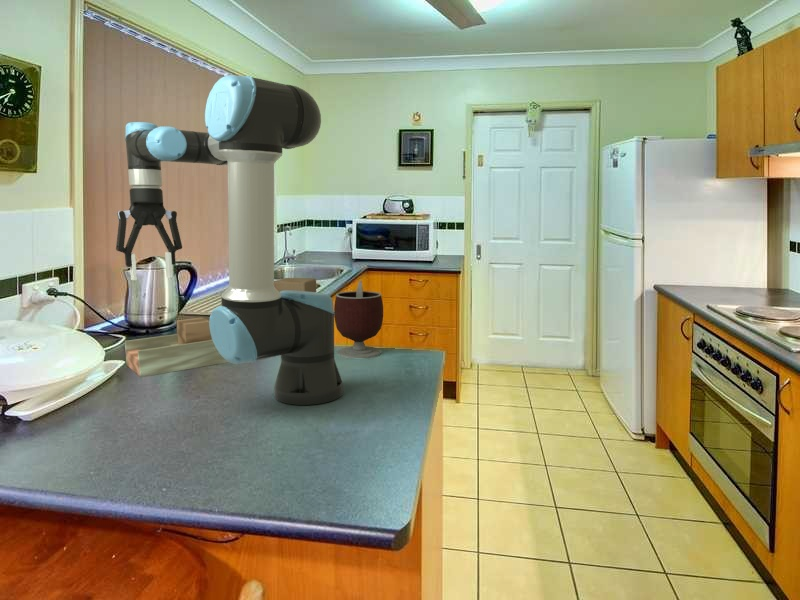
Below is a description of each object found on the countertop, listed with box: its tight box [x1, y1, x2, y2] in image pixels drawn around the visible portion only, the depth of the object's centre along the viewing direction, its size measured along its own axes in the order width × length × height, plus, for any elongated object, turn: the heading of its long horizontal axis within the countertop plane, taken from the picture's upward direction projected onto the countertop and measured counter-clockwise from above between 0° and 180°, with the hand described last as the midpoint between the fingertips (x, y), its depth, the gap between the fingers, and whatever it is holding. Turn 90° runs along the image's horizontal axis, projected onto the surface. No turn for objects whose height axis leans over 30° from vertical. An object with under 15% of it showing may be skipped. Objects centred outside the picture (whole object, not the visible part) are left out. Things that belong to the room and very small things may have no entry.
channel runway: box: [124, 333, 229, 378], centre depth 155 cm, size 14×34×6 cm, turn 129°
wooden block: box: [274, 277, 317, 293], centre depth 171 cm, size 10×10×20 cm
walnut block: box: [176, 317, 212, 345], centre depth 154 cm, size 7×7×7 cm
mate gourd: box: [333, 279, 384, 359], centre depth 163 cm, size 16×14×20 cm
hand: (152, 278), depth 145 cm, fingers open, 8 cm apart
